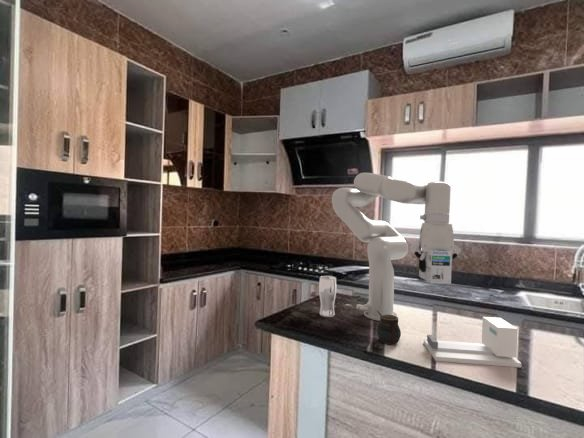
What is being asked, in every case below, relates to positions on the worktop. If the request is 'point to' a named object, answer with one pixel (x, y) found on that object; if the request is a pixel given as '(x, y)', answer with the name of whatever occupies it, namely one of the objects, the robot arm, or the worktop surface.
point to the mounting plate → (466, 353)
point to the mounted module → (499, 336)
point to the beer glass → (327, 295)
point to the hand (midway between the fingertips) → (434, 271)
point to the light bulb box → (437, 266)
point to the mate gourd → (388, 329)
